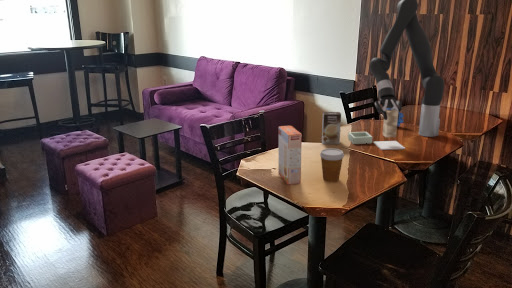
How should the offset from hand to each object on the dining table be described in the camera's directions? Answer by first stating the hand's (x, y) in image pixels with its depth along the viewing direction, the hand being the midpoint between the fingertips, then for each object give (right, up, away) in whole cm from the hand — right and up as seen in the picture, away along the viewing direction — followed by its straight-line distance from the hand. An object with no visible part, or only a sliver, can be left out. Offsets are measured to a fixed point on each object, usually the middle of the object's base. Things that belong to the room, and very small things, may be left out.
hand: (391, 118), depth 195 cm
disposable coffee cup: (-37, -27, -35) cm, 57 cm away
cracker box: (-54, -27, -32) cm, 68 cm away
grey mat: (0, -13, +6) cm, 15 cm away
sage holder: (-12, -11, +15) cm, 22 cm away
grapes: (+15, -2, +41) cm, 44 cm away
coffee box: (-28, -12, +13) cm, 33 cm away
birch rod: (0, -8, +4) cm, 9 cm away
